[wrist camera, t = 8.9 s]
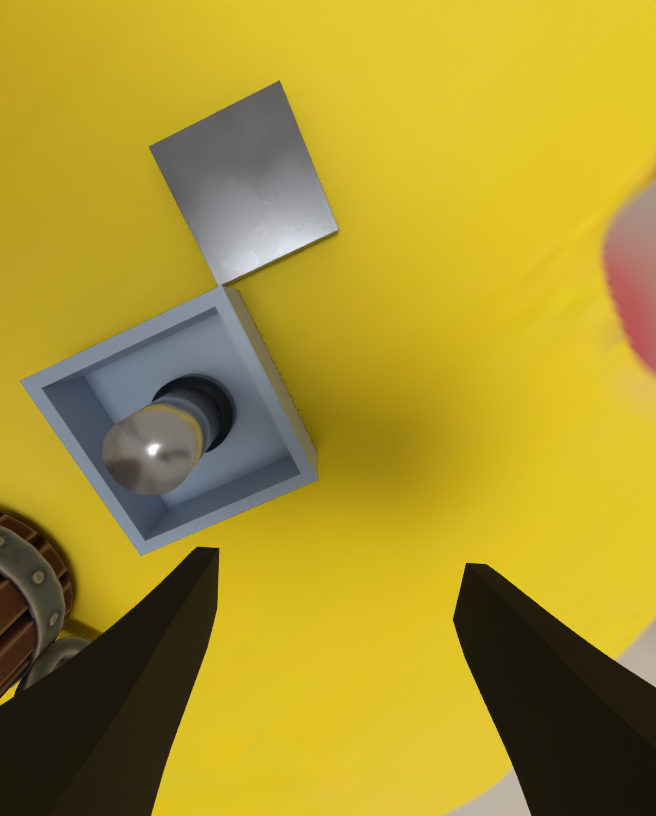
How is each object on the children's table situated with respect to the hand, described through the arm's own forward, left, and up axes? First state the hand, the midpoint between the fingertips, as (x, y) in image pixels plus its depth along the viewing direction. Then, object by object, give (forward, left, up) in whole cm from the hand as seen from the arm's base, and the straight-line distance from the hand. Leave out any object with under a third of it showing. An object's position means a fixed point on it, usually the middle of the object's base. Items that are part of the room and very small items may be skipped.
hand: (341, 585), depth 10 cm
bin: (-5, -5, -10) cm, 12 cm away
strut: (-5, -5, -9) cm, 12 cm away
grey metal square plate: (-13, +2, -10) cm, 17 cm away
